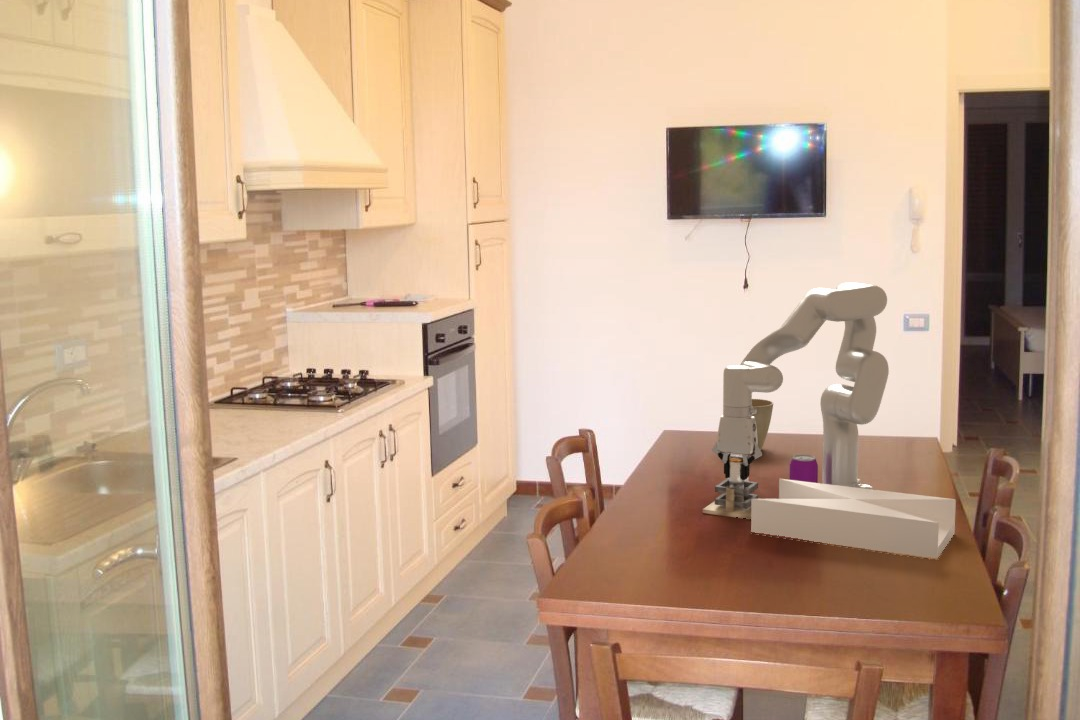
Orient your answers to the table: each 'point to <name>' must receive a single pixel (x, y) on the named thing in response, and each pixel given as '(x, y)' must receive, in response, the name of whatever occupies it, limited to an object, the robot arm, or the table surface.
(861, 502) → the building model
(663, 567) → the table surface
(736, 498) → the steel tube
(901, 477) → the table surface
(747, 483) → the collar stand
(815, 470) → the beverage can
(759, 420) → the plant pot
